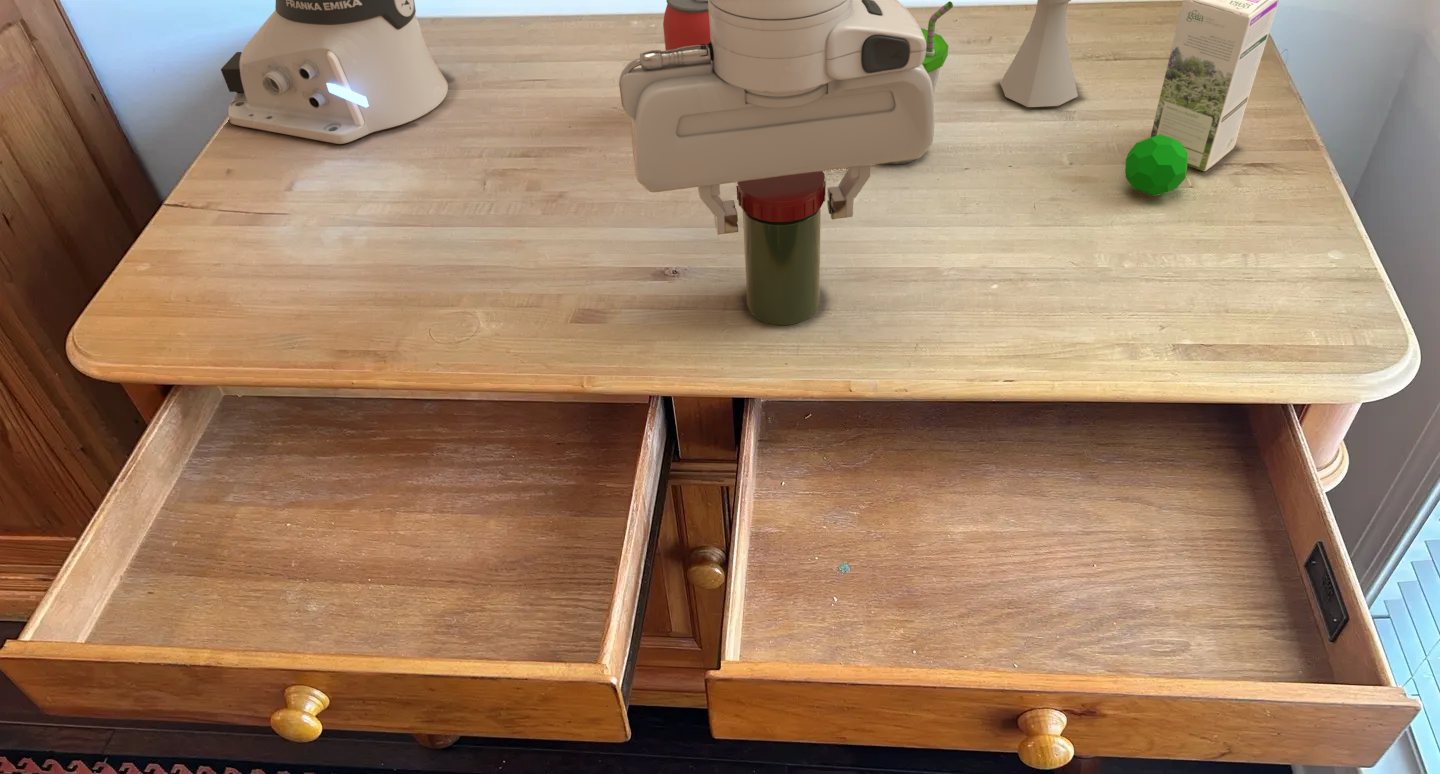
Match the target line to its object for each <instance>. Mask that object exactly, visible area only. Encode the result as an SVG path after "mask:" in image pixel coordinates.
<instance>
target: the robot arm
mask: <svg viewBox="0 0 1440 774" xmlns="http://www.w3.org/2000/svg"><path fill="white" fill-rule="evenodd" d="M274 8H275V10H274V11H273V12H272V13H271V14H270V16H269V17H268V18H267V19H266V20H265V22H263V24H262V25H261V26H260V27H259V29H258V30H257V31H256V32H255V33H254V34H253V36H252V37H251V38H249V40H248V42H247V43H246V44H245V45H244V48H243V50H242V51H236V52H235V53H234V54H233V55H232V57H230V58H229V59H228V61H227V62H226V63H225V64H224V65H223V66H222V67H221V68H220V71H221V74H222V77H223V79H224V82H225V84H226V86H227V89H228V92H229V93H236V95H235V96H234V97H233V99H232V100H231V101H230V103H229V105H228V110H227V113H228V114H227V115H228V118H229V122H230V124H231V125H235V126H240V127H244V128H250V129H254V130H255V129H256V130H261V131H266V132H270V133H271V132H272V133H275V134H276V133H277V134H281V135H288V136H293V137H299V138H303V139H309V140H314V141H320V142H324V143H325V142H326V143H331V144H335V145H337V144H338V145H343V144H347V143H350V142H354V141H356V140H358V139H360V138H363V137H366V136H367V135H369V134H372V133H375V132H378V131H383V130H387V129H391V128H396V127H398V126H401V125H405V124H407V123H410V122H413V121H415V120H418V119H419V118H421V117H423V116H425V115H426V114H429V113H430V112H432V111H433V110H434V109H436V108H437V107H438V106H439V105H440V104H441V103H442V102H443V101H444V100H445V99H446V97H447V95H448V91H449V83H448V81H447V80H446V78H445V76H444V75H443V73H442V72H441V70H440V68H439V66H438V64H437V63H436V62H437V61H435V58H434V57H433V54H432V51H431V49H430V48H429V45H428V42H427V40H426V38H425V36H424V33H423V31H422V28H421V25H420V23H419V20H418V17H417V14H416V11H417V9H416V4H415V0H275V7H274ZM708 9H709V25H710V39H711V42H710V43H709V44H700V45H694V46H686V47H681V48H677V49H673V50H666V49H665V50H661V49H652V50H646V51H643V52H641V53H640V54H639V58H636V59H634V60H632V61H630V62H629V63H628V64H627V65H626V66H625V67H624V68H623V70H622V71H621V74H620V76H619V81H618V85H619V86H618V87H619V92H620V94H619V95H620V102H621V106H622V108H623V111H624V112H625V114H627V116H628V117H630V118H631V135H632V137H631V140H632V141H631V142H632V143H631V144H632V157H633V165H634V173H635V176H636V181H637V182H638V183H639V184H640V185H641V186H642V187H643V188H644V189H645V190H647V191H648V192H650V193H662V192H668V191H669V192H671V191H676V190H677V191H678V190H685V189H692V188H697V191H698V195H699V199H700V200H701V201H702V202H703V204H704V205H705V206H706V207H707V208H708V209H709V210H710V212H711V213H712V214H713V216H714V223H715V224H714V226H715V229H716V232H717V236H719V235H728V234H735V233H739V225H738V222H739V215H738V210H737V207H736V204H735V200H733V199H732V200H731V199H730V200H722V199H721V197H720V195H721V187H720V185H723V184H724V185H725V184H732V183H737V182H740V181H748V180H756V179H764V178H771V177H779V176H787V175H795V174H803V173H810V172H818V171H823V172H824V171H825V172H826V171H832V170H834V171H835V170H841V169H842V170H843V169H846V172H845V174H844V176H843V177H842V179H841V180H840V183H839V184H838V185H837V186H831V187H827V198H828V199H827V203H826V204H827V211H828V214H829V215H830V218H831V220H839V219H847V218H848V219H849V218H853V216H854V199H855V198H856V197H857V196H858V195H859V193H860V192H861V191H862V189H863V187H865V185H866V183H867V182H868V180H869V179H870V178H871V170H872V169H871V168H872V165H879V164H880V165H881V164H885V163H888V162H896V161H904V160H913V159H915V160H918V159H920V158H922V156H924V155H925V154H926V153H927V152H928V150H929V149H930V148H931V147H932V145H933V143H934V137H935V122H936V121H935V119H936V117H935V92H934V93H933V86H932V82H931V79H930V77H929V75H928V73H927V71H926V70H925V68H924V67H923V65H922V63H923V61H924V59H925V55H926V41H925V38H924V35H923V33H922V31H921V29H920V28H921V27H920V25H919V23H918V22H917V21H916V19H915V18H914V16H913V15H912V14H911V13H910V11H909V10H908V9H907V8H906V7H905V6H904V5H903V4H902V3H901V2H900V1H899V0H708ZM711 60H712V61H711ZM640 66H641V67H640ZM913 161H914V160H913Z"/></svg>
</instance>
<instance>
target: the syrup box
mask: <svg viewBox="0 0 1440 774" xmlns="http://www.w3.org/2000/svg"><path fill="white" fill-rule="evenodd" d="M1279 2H1280V0H1182V3H1181V7H1180V12H1179V16H1178V20H1177V25H1176V27H1175V33H1174V37H1173V41H1172V45H1171V50H1170V53H1169V57H1168V62H1167V66H1166V70H1165V74H1164V78H1163V82H1162V86H1161V90H1160V95H1159V98H1158V102H1157V107H1156V112H1155V115H1154V119H1153V123H1152V128H1151V132H1150V136H1149V138H1151V137H1154V136H1156V135H1163V136H1166V137H1169V138H1173V139H1175V140H1177V141H1178V142H1180V143H1181V144H1182V145H1183V147H1184V148H1185V150H1186V151H1187V154H1188V162H1187V167H1190V168H1193V169H1195V170H1199V171H1202V172H1207V171H1208V170H1209V169H1210V168H1212V167H1213V166H1214V165H1216V164H1217V163H1218V162H1219V161H1220V160H1222V159H1223V158H1224V157H1225V156H1226V155H1227V154H1228V153H1230V152H1231V151H1232V150H1233V149H1234V148H1235V146H1236V144H1237V141H1238V137H1239V133H1240V130H1241V126H1242V122H1243V119H1244V115H1245V111H1246V109H1247V105H1248V102H1249V99H1250V95H1251V92H1252V89H1253V86H1254V83H1255V80H1256V77H1257V76H1256V75H1257V73H1258V70H1259V67H1260V64H1261V60H1262V57H1263V54H1264V50H1265V48H1266V45H1267V41H1268V39H1269V35H1270V32H1271V30H1272V29H1271V28H1272V25H1273V23H1274V19H1275V16H1276V12H1277V9H1278V5H1279Z"/></svg>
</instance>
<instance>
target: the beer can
mask: <svg viewBox="0 0 1440 774" xmlns="http://www.w3.org/2000/svg"><path fill="white" fill-rule="evenodd" d="M666 3H667V4H666V6H665V10H664V14H663V22H662V27H663V37H664V38H663V39H664V47H665V48H664V49H665V51H666V50H673V49H677V48H681V47H686V46H694V45H700V44H709V43H710V42H711V39H710V25H709V9H708V0H666ZM711 61H712V60H711Z"/></svg>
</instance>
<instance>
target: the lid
mask: <svg viewBox="0 0 1440 774" xmlns="http://www.w3.org/2000/svg"><path fill="white" fill-rule="evenodd" d="M825 177H826V176H825V172H824V171H818V172H810V173H803V174H795V175H787V176H779V177H771V178H764V179H756V180H748V181H740V182H736V183H737V185H736V200H737V201H738V206H739V207H740V208H741V209H742V212H743V211H745V212H746V213H747V214H748V215H750V216H752V217H754V218H757V219H760V220H764V221H770V222H790V221H795V220H799V219H803V218H805V217H808V216H810V215H812V214H813V213H815V212H816V211H817V210H818V209H819V208H822V207H823V204H824V202H826V195H827V194H826V193H827V192H826V185H827V181H826V178H825Z"/></svg>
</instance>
